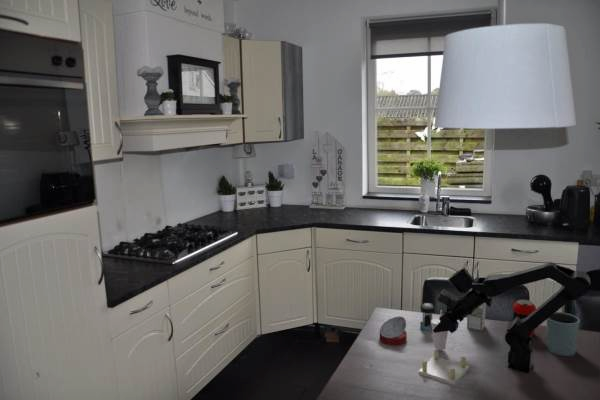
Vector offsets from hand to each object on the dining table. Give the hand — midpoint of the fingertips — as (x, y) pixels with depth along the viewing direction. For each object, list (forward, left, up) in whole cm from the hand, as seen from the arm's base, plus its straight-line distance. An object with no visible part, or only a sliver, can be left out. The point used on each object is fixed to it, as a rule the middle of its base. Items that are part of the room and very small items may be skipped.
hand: (436, 327), depth 175 cm
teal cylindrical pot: (-35, -24, -8) cm, 44 cm away
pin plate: (-8, +13, -8) cm, 17 cm away
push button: (+9, -14, -8) cm, 19 cm away
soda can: (-21, -31, -8) cm, 39 cm away
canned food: (+16, +2, -8) cm, 18 cm away
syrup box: (-5, -26, -8) cm, 28 cm away
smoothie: (-1, 0, -7) cm, 7 cm away
